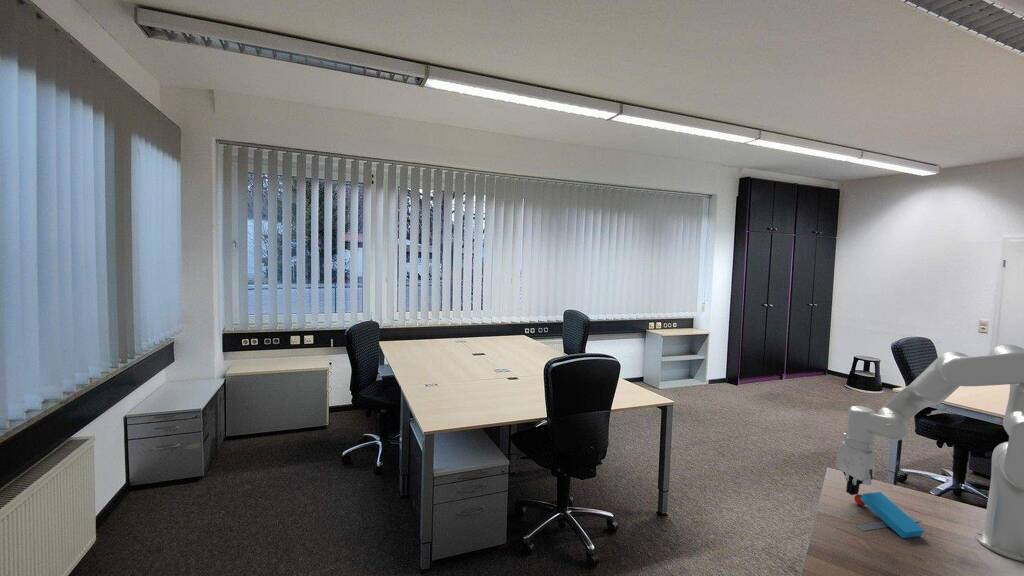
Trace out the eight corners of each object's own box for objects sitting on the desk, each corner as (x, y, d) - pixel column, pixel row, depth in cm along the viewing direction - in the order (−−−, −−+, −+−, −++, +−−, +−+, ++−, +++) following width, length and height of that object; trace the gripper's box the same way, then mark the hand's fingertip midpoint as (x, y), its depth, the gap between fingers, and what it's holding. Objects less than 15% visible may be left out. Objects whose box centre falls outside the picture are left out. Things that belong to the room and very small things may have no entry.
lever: (915, 546, 133) (863, 498, 149) (924, 530, 130) (870, 483, 147) (896, 548, 132) (845, 500, 148) (905, 532, 129) (852, 485, 146)
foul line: (912, 516, 141) (912, 516, 141) (921, 521, 138) (921, 521, 138) (855, 525, 136) (855, 525, 136) (863, 531, 133) (863, 530, 133)
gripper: (829, 433, 153) (823, 482, 155) (871, 455, 139) (864, 507, 141) (846, 432, 155) (840, 480, 157) (890, 453, 140) (883, 505, 142)
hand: (852, 493), depth 149 cm, fingers closed
